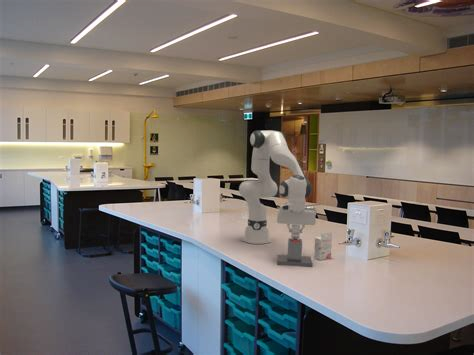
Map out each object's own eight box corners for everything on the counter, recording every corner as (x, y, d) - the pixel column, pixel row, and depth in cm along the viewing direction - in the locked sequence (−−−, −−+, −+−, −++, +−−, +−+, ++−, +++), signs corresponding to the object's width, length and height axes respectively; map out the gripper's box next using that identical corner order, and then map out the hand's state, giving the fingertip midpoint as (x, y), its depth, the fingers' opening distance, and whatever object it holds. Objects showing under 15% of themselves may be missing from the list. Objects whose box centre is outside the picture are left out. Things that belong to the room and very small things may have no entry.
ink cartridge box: (324, 256, 240) (326, 230, 239) (331, 258, 236) (332, 232, 235) (313, 258, 236) (314, 231, 235) (319, 260, 232) (321, 233, 230)
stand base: (277, 258, 233) (278, 234, 232) (310, 260, 231) (311, 236, 230) (277, 264, 220) (278, 240, 219) (312, 266, 218) (313, 242, 217)
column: (290, 257, 228) (291, 224, 226) (298, 257, 227) (299, 224, 226) (290, 259, 223) (291, 225, 222) (298, 260, 223) (300, 226, 222)
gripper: (316, 206, 225) (314, 232, 226) (277, 204, 227) (276, 230, 228) (317, 208, 219) (316, 234, 220) (277, 206, 221) (276, 232, 222)
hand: (295, 232), depth 224 cm, fingers closed on column, 4 cm apart
